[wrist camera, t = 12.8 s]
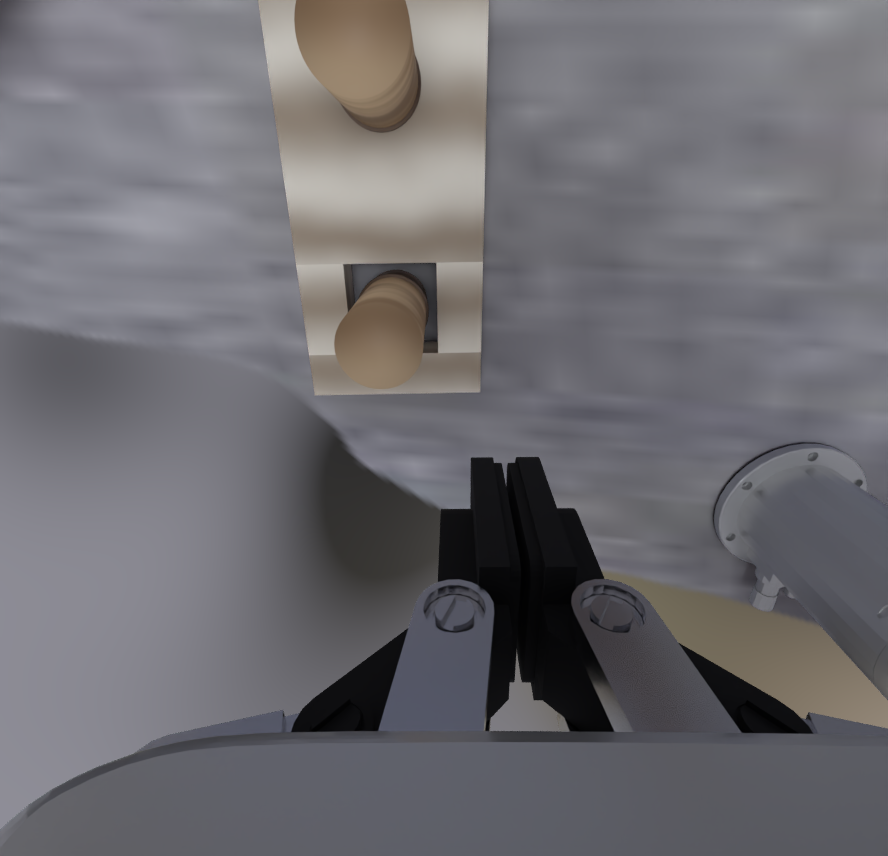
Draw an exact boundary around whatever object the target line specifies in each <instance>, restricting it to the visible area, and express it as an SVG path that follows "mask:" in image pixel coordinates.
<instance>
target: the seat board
mask: <svg viewBox="0 0 888 856" xmlns="http://www.w3.org/2000/svg"><path fill="white" fill-rule="evenodd" d="M258 2H259V9H260V16H261V23H262V30H263V37H264V44H265V51H266V58H267V65H268V72H269V79H270V86H271V93H272V100H273V107H274V114H275V121H276V128H277V135H278V142H279V149H280V156H281V163H282V170H283V177H284V184H285V190H286V197H287V204H288V211H289V218H290V225H291V232H292V239H293V246H294V253H295V260H296V267H297V274H298V281H299V288H300V295H301V302H302V309H303V316H304V323H305V330H306V337H307V344H308V351H309V358H310V365H311V372H312V379H313V386H314V393H315V395H361V394H416V393H472V392H480V376H481V330H482V285H483V239H484V193H485V147H486V101H487V55H488V9H489V0H258ZM381 263H436V268H437V320H438V342H424V345H423V355H422V359H421V363H420V365H419V367H418V369H417V371H416V372H415V373H414V375H413V376H412V377H411V378H410V379H409V380H407V381H406V382H405V383H403V384H401V385H399V386H397V387H394V388H389V389H373V388H368V387H365V386H363V385H360V384H359V383H357V382H355V381H354V380H353V379H351V378H350V377H349V376H348V375H347V374H346V373H345V372H344V371H343V369H342V368H341V366H340V364H339V362H338V360H337V357H336V354H335V348H334V340H335V334H336V331H337V328H338V326H339V324H340V322H341V321H342V319H343V318H344V317H345V315H346V314H347V313H348V312H349V310H350V309H351V308H352V307H353V305H354V304H355V299H354V289H353V278H352V268H351V264H381Z"/></svg>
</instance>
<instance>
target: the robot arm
mask: <svg viewBox="0 0 888 856" xmlns="http://www.w3.org/2000/svg"><path fill="white" fill-rule="evenodd" d="M440 521H441V522H440V545H439V568H438V582H437V583H435V584H433V585H431V586H429V587H427V588H426V589H425V590H424V591H423V592H422V593H421V594H420V596H419V598H418V600H417V602H416V604H415V607H414V611H413V614H412V618H411V621H410V624H409V628H408V629H406V630H405V631H404V632H402V633H401V634H400V635H398V636H397V637H396V638H394V639H393V640H392V641H390V642H389V643H388V644H386V645H385V646H384V647H382V648H381V649H379V650H378V651H377V652H375V653H374V654H373V655H371V656H370V657H369V658H367V659H366V660H365V661H363V662H362V663H361V664H359V665H358V666H357V667H355V668H354V669H353V670H351V671H350V672H348V673H347V674H346V675H344V676H343V677H342V678H341V679H339V680H338V681H336V682H335V683H334V684H332V685H331V686H330V687H328V688H327V689H326V690H324V691H323V692H322V693H320V694H319V695H318V696H316V697H315V698H314V699H312V700H311V701H310V702H309V703H308V704H307V705H306V706H305V707H304V708H303V709H302V711H301V712H300V713H298V714H293V715H289V716H285V715H284V711H283V710H280V711H275V712H271V713H267V714H262V715H257V716H253V717H248V718H243V719H239V720H235V721H230V722H225V723H221V724H216V725H211V726H207V727H202V728H198V729H193V730H189V731H184V732H180V733H175V734H170V735H167V736H164V737H162V738H159V739H156V740H154V741H151V742H150V743H148V744H147V745H145V746H144V747H143V748H141V749H140V750H138V751H137V752H135V753H134V754H131V755H128V756H126V757H123V758H120V759H117V760H115V761H112V762H109V763H107V764H104V765H101V766H98V767H96V768H94V769H92V770H89V771H87V772H85V773H83V774H81V775H78V776H76V777H74V778H72V779H70V780H68V781H67V782H65V783H63V784H61V785H59V786H57V787H55V788H53V789H52V790H50V791H49V792H47V793H46V794H44V795H43V796H41V797H40V798H38V799H37V800H35V801H34V802H32V803H31V804H29V805H28V806H27V807H26V808H24V809H23V810H22V811H21V812H20V813H18V814H17V815H16V816H15V817H14V818H13V819H11V820H10V821H9V822H8V823H7V824H6V825H5V826H4V827H3V828H2V829H0V856H888V729H887V728H882V727H877V726H872V725H868V724H863V723H858V722H853V721H848V720H843V719H839V718H834V717H829V716H824V715H819V714H814V713H810V712H809V713H808V715H807V717H806V719H803V718H800V717H799V716H798V715H797V714H796V713H795V712H794V711H793V710H791V709H790V708H788V707H787V706H786V705H784V704H783V703H781V702H780V701H778V700H777V699H775V698H773V697H771V696H770V695H768V694H766V693H765V692H763V691H761V690H759V689H758V688H756V687H754V686H752V685H751V684H749V683H747V682H745V681H744V680H742V679H740V678H739V677H737V676H735V675H733V674H732V673H730V672H728V671H726V670H725V669H723V668H721V667H720V666H718V665H716V664H714V663H713V662H711V661H709V660H707V659H706V658H704V657H702V656H700V655H699V654H697V653H695V652H694V651H692V650H690V649H688V648H687V647H685V646H683V645H681V644H680V643H678V642H677V640H676V639H675V638H674V636H673V635H672V633H671V632H670V630H669V629H668V628H667V626H666V625H665V624H664V622H663V620H662V619H661V618H660V616H659V615H658V613H657V612H656V611H655V609H654V608H653V606H652V605H651V604H650V602H649V601H648V600H647V599H646V598H645V597H644V596H643V595H642V594H641V593H640V592H638V591H637V590H635V589H634V588H632V587H631V586H628V585H626V584H623V583H621V582H618V581H613V580H609V579H604V577H603V574H602V572H601V569H600V567H599V564H598V562H597V560H596V557H595V555H594V552H593V550H592V547H591V545H590V543H589V540H588V538H587V535H586V533H585V530H584V528H583V526H582V523H581V521H580V518H579V516H578V514H577V512H576V510H575V509H573V508H557V507H556V504H555V501H554V498H553V496H552V493H551V490H550V487H549V484H548V481H547V479H546V476H545V473H544V470H543V467H542V464H541V461H540V459H539V457H516V460H515V463H508V465H507V484H505V479H504V473H503V468H502V463H494V461H493V458H492V457H489V458H471V509H441V520H440ZM714 525H715V530H716V533H717V536H718V538H719V539H720V541H721V542H722V544H723V545H724V546H725V547H726V548H727V549H728V550H729V551H730V553H731V554H733V555H734V556H736V557H737V558H739V559H741V560H743V561H746V562H748V563H752V564H754V565H755V566H756V567H757V568H756V570H755V575H756V577H757V578H758V580H757V583H756V584H755V585H754V587H753V590H752V592H751V595H750V598H749V601H750V603H751V604H752V606H754V607H755V608H757V609H759V610H762V611H768V612H769V611H771V610H772V609H773V607H774V604H775V602H776V599H777V597H778V590H779V588H782V587H784V588H783V593H784V594H785V595H786V596H788V597H790V598H793V599H797V601H798V602H799V603H800V604H801V605H802V606H803V607H804V608H805V609H806V610H807V612H808V613H809V614H810V615H811V616H812V617H813V618H814V619H815V620H816V621H817V623H818V624H819V625H820V626H821V627H822V628H823V629H824V630H825V631H826V633H827V634H828V635H829V636H830V637H831V638H832V639H833V640H834V641H835V642H836V644H837V645H838V646H839V647H840V648H841V649H842V650H843V651H844V652H845V653H846V655H848V657H849V658H850V659H851V660H852V661H853V662H854V663H855V664H856V666H857V667H858V668H859V669H860V670H861V671H862V672H863V673H864V674H865V676H866V677H867V678H868V679H869V680H870V681H871V682H872V683H873V684H874V685H875V687H876V688H877V689H878V690H879V691H880V692H881V694H882V695H883V696H884V697H885V698H886V699H887V700H888V506H886V505H885V504H883V503H882V502H881V501H879V500H878V499H876V498H875V497H873V496H872V495H870V494H869V493H867V482H866V476H865V474H864V472H863V470H862V468H861V466H860V465H859V464H858V463H857V462H856V461H855V460H854V459H853V458H851V457H850V456H848V455H847V454H845V453H844V452H842V451H840V450H838V449H836V448H833V447H831V446H826V445H822V444H797V445H790V446H787V447H783V448H780V449H777V450H774V451H772V452H770V453H767V454H765V455H763V456H761V457H759V458H758V459H756V460H754V461H753V462H751V463H750V464H748V465H747V466H746V467H745V468H743V469H742V470H741V471H740V472H739V473H737V474H736V475H735V477H734V478H733V479H732V480H731V481H730V482H729V483H728V484H727V486H726V488H725V489H724V491H723V492H722V494H721V495H720V498H719V500H718V503H717V505H716V509H715V515H714ZM516 649H517V654H518V661H519V668H520V674H521V680H522V682H531V686H532V692H533V698H534V700H543V701H544V702H546V703H547V704H548V705H549V706H551V707H552V708H553V709H554V710H555V711H557V722H558V727H559V730H560V732H550V731H549V732H547V731H546V732H544V731H540V732H539V731H490V725H491V717H492V716H493V715H494V714H495V713H496V712H497V711H498V710H499V709H500V708H501V707H502V706H503V704H504V703H505V702H506V701H507V700H508V699H509V682H514V680H515V664H516Z"/></svg>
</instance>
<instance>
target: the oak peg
mask: <svg viewBox="0 0 888 856" xmlns="http://www.w3.org/2000/svg"><path fill="white" fill-rule="evenodd" d="M428 313H429V308H428V302H427V296H426V292H425V289H424V287H423V285H422V284H421V282H420V281H419V280H418V279H417V278H416V277H415V276H413V275H412V274H410V273H408V272H405V271H402V270H390V271H386V272H383V273H382V274H380V275H379V276H377V277H376V278H374V279H373V280H371V281H370V282H369V283H368V284H367V285H366V286H365V288H364V289H363V290H362V292H361V294H360V296H359V299H358V300H357V302H356V303H355V304H354V305H353V307H352V308H351V309H350V310H349V312H348V313H347V314H346V315H345V317H344V318H343V319H342V321H341V322H340V324H339V326H338V328H337V331H336V334H335V340H334V348H335V354H336V357H337V360H338V362H339V364H340V366H341V368H342V369H343V371H344V372H345V373H346V374H347V375H348V376H349V377H350V378H351V379H353V380H354V381H355V382H357V383H359V384H360V385H363V386H365V387H368V388H373V389H389V388H394V387H397V386H399V385H401V384H403V383H405V382H406V381H407V380H409V379H410V378H411V377H412V376H413V375H414V373H415V372H416V371H417V369H418V367H419V365H420V363H421V359H422V355H423V345H424V334H425V327H426V324H427V321H428Z"/></svg>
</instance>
